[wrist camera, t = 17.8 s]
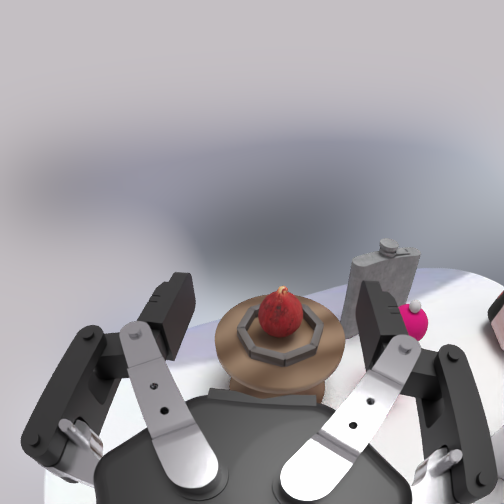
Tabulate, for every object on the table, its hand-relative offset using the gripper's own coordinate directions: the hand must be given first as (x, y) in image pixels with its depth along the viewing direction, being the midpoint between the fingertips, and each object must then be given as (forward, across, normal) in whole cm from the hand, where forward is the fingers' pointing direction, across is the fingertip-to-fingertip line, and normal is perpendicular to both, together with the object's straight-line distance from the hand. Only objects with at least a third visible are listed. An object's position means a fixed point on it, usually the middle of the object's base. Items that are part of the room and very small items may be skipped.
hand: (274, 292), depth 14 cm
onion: (+18, 0, +21) cm, 28 cm away
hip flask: (+35, -19, +35) cm, 53 cm away
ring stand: (+18, 0, +35) cm, 39 cm away
